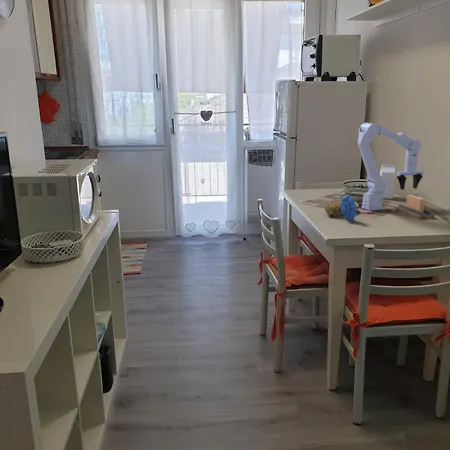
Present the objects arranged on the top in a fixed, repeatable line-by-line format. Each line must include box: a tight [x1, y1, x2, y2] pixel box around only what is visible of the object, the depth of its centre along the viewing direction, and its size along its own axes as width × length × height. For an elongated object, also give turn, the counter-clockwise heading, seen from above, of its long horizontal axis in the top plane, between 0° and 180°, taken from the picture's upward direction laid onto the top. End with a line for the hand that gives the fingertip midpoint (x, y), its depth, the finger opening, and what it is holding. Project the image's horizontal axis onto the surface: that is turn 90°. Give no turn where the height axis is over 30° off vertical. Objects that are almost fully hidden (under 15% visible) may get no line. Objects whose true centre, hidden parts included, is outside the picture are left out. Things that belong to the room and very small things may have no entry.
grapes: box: [340, 194, 358, 222], centre depth 220 cm, size 12×7×12 cm, turn 23°
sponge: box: [324, 199, 360, 216], centre depth 233 cm, size 13×8×20 cm
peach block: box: [405, 194, 425, 212], centre depth 228 cm, size 2×10×7 cm, turn 16°
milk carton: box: [379, 163, 396, 199], centre depth 263 cm, size 7×7×19 cm
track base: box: [394, 203, 436, 220], centre depth 229 cm, size 9×18×3 cm, turn 16°
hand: (408, 188), depth 242 cm, fingers open, 7 cm apart
